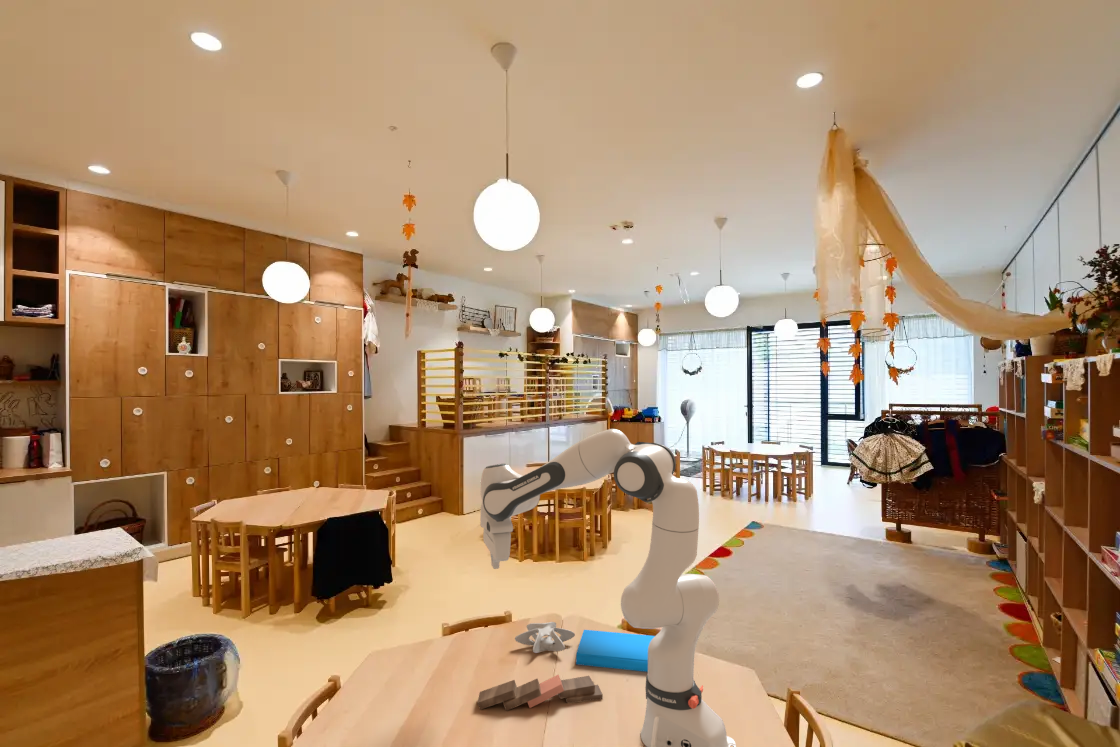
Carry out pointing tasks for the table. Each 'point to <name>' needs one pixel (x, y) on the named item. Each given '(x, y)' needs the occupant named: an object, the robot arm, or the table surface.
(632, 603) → the robot arm
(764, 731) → the table surface
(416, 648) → the table surface
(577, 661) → the book
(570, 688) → the tile
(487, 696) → the tile
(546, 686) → the tile
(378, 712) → the table surface
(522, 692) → the tile
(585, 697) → the tile
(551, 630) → the sculpture
